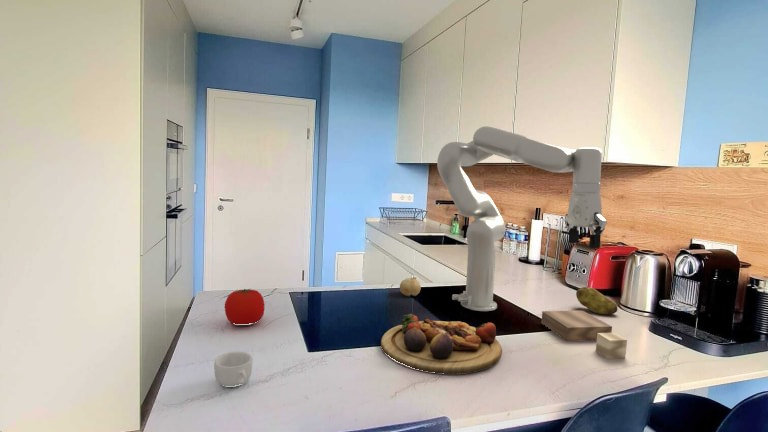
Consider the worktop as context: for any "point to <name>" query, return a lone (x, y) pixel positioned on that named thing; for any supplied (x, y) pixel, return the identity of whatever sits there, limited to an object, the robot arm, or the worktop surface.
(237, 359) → the teacup
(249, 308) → the tomato
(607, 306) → the green pickle
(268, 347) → the worktop surface
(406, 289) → the cream round lump
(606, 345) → the maple cube
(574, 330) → the walnut base block
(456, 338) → the wooden plate with food
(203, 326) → the worktop surface
